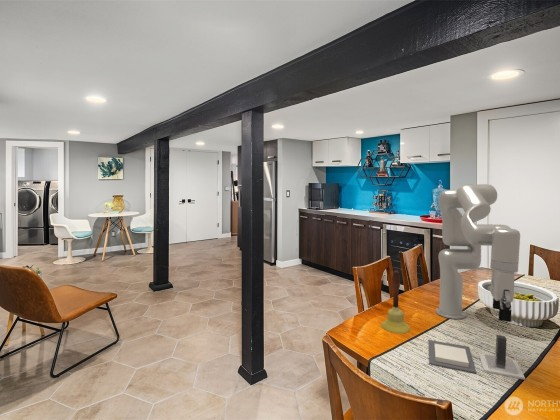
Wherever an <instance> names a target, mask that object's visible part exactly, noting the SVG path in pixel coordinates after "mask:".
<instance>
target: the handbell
mask: <svg viewBox="0 0 560 420" xmlns="http://www.w3.org/2000/svg"><path fill="white" fill-rule="evenodd" d="M400 286H401V276H400V272H399V270H394V271H392V276H391V288H392V290H393V292H392V294H393V295H392V296H393V298H392V308H390V309H389V310H388V311H387V318H386V319H385V320H383V321H382V322H381V323H380V328H382V329H383V330H384V331H386V332H389V333H392V334H399V335H401V334H408V333H409V332H410V331H411V327H410V326H409V324H408V323H407V322H406V321H405V320H404V319H405V316H404V315H405V314H404V312H403V310H401V309H400V308H399V294H400V293H399V292H400V291H399V290H400V288H401V287H400Z"/></svg>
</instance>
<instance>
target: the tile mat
mask: <svg viewBox="0 0 560 420" xmlns="http://www.w3.org/2000/svg"><path fill="white" fill-rule="evenodd" d="M427 340H428V341H427V342H428V365H430V364H431V365H430V366H437V367H440V366H441V367H440V368H444V369H451V370H454V371H460V372H464V373H465V372H466V373H470V374H474V375H477V369H476V366H475V362H474V359H473V355H472V352H471V348H470V346H469V345H468V346H466V345H461V344H455V343H449V342H444V341H438V340H432V339H427ZM435 344H440V345H446V346H451V347H457V348H463V349H465V350H466V354H467V358H468V362H469V368H468V367H463V366H458V365H453V364H448V363H443V362H437V361H435Z"/></svg>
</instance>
